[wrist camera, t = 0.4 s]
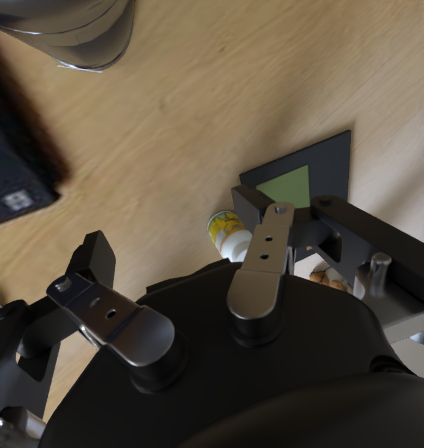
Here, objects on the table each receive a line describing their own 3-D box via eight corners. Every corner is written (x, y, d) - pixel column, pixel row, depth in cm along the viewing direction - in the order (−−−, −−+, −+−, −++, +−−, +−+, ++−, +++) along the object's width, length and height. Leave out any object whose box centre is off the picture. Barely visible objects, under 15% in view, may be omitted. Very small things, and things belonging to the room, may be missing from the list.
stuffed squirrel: (347, 248, 51) (409, 291, 40) (345, 289, 58) (396, 335, 48) (307, 268, 50) (360, 318, 39) (311, 307, 57) (355, 358, 46)
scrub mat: (238, 174, 34) (241, 176, 33) (348, 129, 36) (352, 130, 36) (261, 276, 46) (263, 279, 45) (342, 237, 48) (345, 239, 48)
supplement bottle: (201, 236, 37) (223, 275, 29) (213, 206, 35) (240, 239, 27) (230, 241, 39) (257, 279, 31) (243, 213, 37) (275, 245, 30)
